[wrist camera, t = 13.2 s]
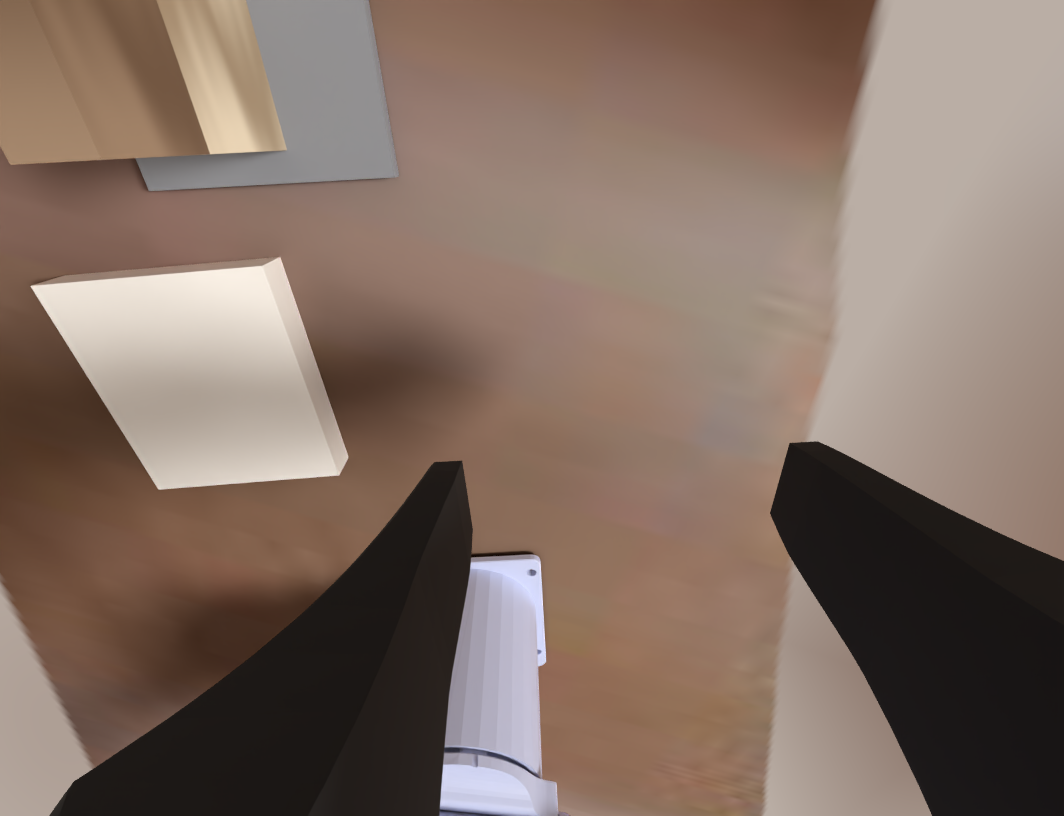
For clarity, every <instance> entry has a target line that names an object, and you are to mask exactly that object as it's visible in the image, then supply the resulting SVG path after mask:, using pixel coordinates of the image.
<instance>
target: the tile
mask: <svg viewBox="0 0 1064 816" xmlns="http://www.w3.org/2000/svg"><path fill="white" fill-rule="evenodd" d="M31 288H32V289H33V291H34V292H35V294H36V296H37V297H38V299H39V300H40V302H41V304H42V305H43V307H44V308H45V310H46V312H47V313H48V315H49V316H50V318H51V319H52V321H53V323H54V324H55V326H56V327H57V329H58V331H59V332H60V334H61V335H62V337H63V339H64V340H65V342H66V343H67V345H68V347H69V348H70V350H71V351H72V353H73V354H74V356H75V358H76V359H77V361H78V362H79V364H80V366H81V367H82V369H83V370H84V372H85V374H86V375H87V377H88V378H89V380H90V381H91V383H92V385H93V386H94V388H95V389H96V391H97V393H98V394H99V396H100V397H101V399H102V401H103V402H104V404H105V405H106V407H107V408H108V410H109V412H110V413H111V415H112V416H113V418H114V420H115V421H116V423H117V424H118V426H119V428H120V429H121V431H122V432H123V434H124V435H125V437H126V439H127V440H128V442H129V443H130V445H131V447H132V448H133V450H134V451H135V453H136V455H137V456H138V458H139V459H140V461H141V462H142V464H143V466H144V467H145V469H146V470H147V472H148V474H149V475H150V477H151V478H152V480H153V482H154V483H155V485H156V486H157V488H158V489H172V488H185V487H197V486H210V485H223V484H235V483H248V482H261V481H274V480H286V479H299V478H312V477H324V476H337V475H340V473H341V471H342V469H343V467H344V465H345V463H346V461H347V459H348V458H349V457H348V454H347V451H346V448H345V445H344V443H343V440H342V437H341V434H340V431H339V428H338V425H337V422H336V419H335V416H334V413H333V410H332V407H331V405H330V402H329V399H328V396H327V393H326V390H325V387H324V384H323V381H322V378H321V375H320V372H319V369H318V367H317V364H316V361H315V358H314V355H313V352H312V349H311V346H310V343H309V340H308V337H307V334H306V331H305V329H304V326H303V323H302V320H301V317H300V314H299V311H298V308H297V305H296V302H295V299H294V296H293V293H292V291H291V288H290V285H289V282H288V279H287V276H286V273H285V270H284V267H283V264H282V261H281V258H280V257H273V258H261V259H250V260H238V261H226V262H215V263H203V264H192V265H180V266H169V267H157V268H146V269H134V270H122V271H111V272H99V273H88V274H76V275H65V276H61V277H58V278H54V279H51V280H48V281H45V282H41V283H38V284H35V285H32V286H31Z"/></svg>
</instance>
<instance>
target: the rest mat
mask: <svg viewBox="0 0 1064 816" xmlns="http://www.w3.org/2000/svg"><path fill="white" fill-rule="evenodd" d="M246 2H247V6H248V10H249V13H250V17H251V21H252V24H253V28H254V32H255V35H256V39H257V43H258V46H259V50H260V54H261V57H262V61H263V64H264V68H265V72H266V75H267V79H268V83H269V86H270V90H271V94H272V97H273V101H274V105H275V108H276V112H277V116H278V119H279V123H280V126H281V130H282V134H283V137H284V141H285V145H286V148H287V150H282V151H264V152H246V153H228V154H208V155H189V156H170V157H151V158H135V159H136V161H137V164H138V166H139V168H140V171H141V173H142V175H143V178H144V180H145V183H146V185H147V187H148V190H149V191H161V190H178V189H196V188H214V187H232V186H249V185H267V184H285V183H303V182H320V181H338V180H356V179H374V178H391V177H397V176H399V173H398V167H397V162H396V156H395V150H394V144H393V138H392V133H391V127H390V121H389V115H388V110H387V104H386V98H385V92H384V86H383V81H382V75H381V69H380V63H379V58H378V52H377V46H376V40H375V34H374V29H373V23H372V17H371V11H370V6H369V0H246Z"/></svg>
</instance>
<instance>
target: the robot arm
mask: <svg viewBox="0 0 1064 816" xmlns="http://www.w3.org/2000/svg"><path fill="white" fill-rule="evenodd" d="M770 514H771V517H772V519H773V521H774V523H775V526H776V528H777V530H778V533H779V535H780V537H781V539H782V541H783V543H784V545H785V548H786V550H787V552H788V554H789V556H790V557H791V559H792V560H793V562H794V564H795V565H796V567H797V569H798V570H799V572H800V573H801V575H802V577H803V578H804V580H805V581H806V583H807V585H808V586H809V588H810V589H811V591H812V592H813V594H814V596H815V597H816V599H817V600H818V602H819V603H820V605H821V606H822V608H823V610H824V611H825V613H826V614H827V616H828V617H829V619H830V621H831V622H832V624H833V625H834V627H835V628H836V630H837V631H838V633H839V635H840V636H841V638H842V639H843V641H844V642H845V644H846V645H847V647H848V649H849V650H850V652H851V653H852V655H853V657H854V659H855V660H856V662H857V664H858V665H859V667H860V669H861V671H862V672H863V674H864V676H865V678H866V680H867V682H868V684H869V685H870V687H871V689H872V691H873V693H874V695H875V697H876V699H877V701H878V703H879V705H880V707H881V709H882V711H883V713H884V715H885V717H886V718H887V720H888V722H889V724H890V726H891V728H892V730H893V733H894V734H895V737H896V739H897V741H898V743H899V745H900V747H901V749H902V751H903V753H904V755H905V758H906V760H907V762H908V764H909V766H910V768H911V770H912V772H913V774H914V776H915V778H916V780H917V783H918V785H919V787H920V789H921V791H922V794H923V796H924V798H925V800H926V803H927V805H928V807H929V809H930V812H931V814H932V816H1064V561H1062V560H1060V559H1058V558H1055V557H1052V556H1050V555H1048V554H1046V553H1043V552H1041V551H1038V550H1036V549H1034V548H1031V547H1029V546H1027V545H1024V544H1022V543H1020V542H1018V541H1016V540H1013V539H1011V538H1009V537H1007V536H1005V535H1002V534H1000V533H998V532H996V531H993V530H992V529H990V528H988V527H986V526H983V525H981V524H979V523H977V522H975V521H973V520H971V519H969V518H966V517H965V516H963V515H960V514H958V513H956V512H954V511H952V510H950V509H948V508H946V507H945V506H942V505H940V504H938V503H937V502H935V501H933V500H931V499H929V498H927V497H925V496H923V495H921V494H919V493H917V492H915V491H913V490H912V489H910V488H908V487H906V486H904V485H902V484H900V483H898V482H896V481H894V480H893V479H891V478H889V477H887V476H885V475H883V474H881V473H879V472H877V471H876V470H874V469H872V468H870V467H868V466H866V465H864V464H862V463H861V462H859V461H857V460H855V459H853V458H851V457H849V456H847V455H845V454H843V453H841V452H839V451H837V450H835V449H833V448H831V447H829V446H827V445H824V444H822V443H820V442H800V443H790V444H789V447H788V451H787V454H786V458H785V462H784V465H783V469H782V472H781V476H780V480H779V483H778V487H777V490H776V494H775V498H774V501H773V505H772V508H771V512H770ZM472 532H473V528H472V522H471V515H470V509H469V502H468V496H467V489H466V483H465V476H464V470H463V463H462V461H449V462H434V463H433V464H432V465H431V467H430V468H429V469H428V471H427V472H426V473H425V475H424V476H423V478H422V479H421V480H420V482H419V483H418V485H417V486H416V487H415V489H414V490H413V491H412V493H411V494H410V495H409V497H408V498H407V499H406V501H405V502H404V503H403V505H402V506H401V507H400V508H399V510H398V511H397V512H396V513H395V515H394V516H393V517H392V518H391V520H390V521H389V522H388V523H387V525H386V526H385V527H384V529H383V530H382V531H381V532H380V533H379V534H378V536H377V537H376V538H375V539H374V540H373V541H372V542H371V544H370V545H369V546H368V547H367V548H366V549H365V550H364V552H363V553H362V554H361V555H360V556H359V557H358V558H357V559H356V561H355V562H354V563H353V564H352V565H351V566H350V567H349V568H348V569H347V570H346V571H345V572H344V573H343V574H342V575H341V577H340V578H339V579H338V580H337V581H336V582H335V583H334V584H333V585H332V586H331V587H330V588H329V589H328V590H327V591H326V592H324V593H323V594H322V595H321V596H320V597H319V598H318V599H317V600H316V601H315V602H314V603H313V604H312V605H311V606H310V607H309V608H308V609H307V610H305V611H304V612H303V613H302V614H301V615H300V616H299V617H298V618H296V619H295V620H294V621H293V622H292V623H291V624H289V625H288V626H287V627H286V628H285V629H284V630H282V631H281V632H280V633H279V634H278V635H277V636H275V637H274V638H273V639H272V640H271V641H269V642H268V643H267V644H266V645H265V646H264V647H262V648H261V649H260V650H259V651H258V652H257V653H255V654H254V655H253V656H252V657H250V658H249V659H248V660H246V661H245V662H244V663H243V664H241V665H240V666H239V667H237V668H236V669H235V670H234V671H232V672H231V673H230V674H228V675H227V676H226V677H225V678H223V679H222V680H221V681H219V682H218V683H217V684H215V685H214V686H213V687H211V688H210V689H208V690H207V691H206V692H204V693H203V694H202V695H200V696H199V697H198V698H196V699H195V700H194V701H192V702H191V703H189V704H188V705H187V706H185V707H184V708H182V709H181V710H180V711H178V712H177V713H175V714H174V715H173V716H171V717H170V718H168V719H167V720H165V721H164V722H163V723H161V724H160V725H158V726H157V727H155V728H154V729H152V730H151V731H149V732H148V733H146V734H145V735H143V736H142V737H140V738H139V739H137V740H136V741H134V742H133V743H131V744H130V745H128V746H127V747H125V748H124V749H122V750H121V751H119V752H118V753H116V754H115V755H113V756H112V757H111V758H109V759H108V760H106V761H105V762H103V763H102V764H100V765H99V766H97V767H96V768H94V769H93V770H91V771H89V772H88V773H86V774H85V775H83V776H82V777H80V778H79V779H77V780H75V781H74V782H73V784H72V785H71V786H70V788H69V789H68V790H67V792H66V793H65V794H64V796H63V797H62V799H61V800H60V801H59V803H58V804H57V806H56V807H55V808H54V810H53V811H52V813H51V814H50V816H570V815H568V814H567V813H565V812H558V801H557V784H556V782H554V781H549V780H544V779H542V763H541V736H540V708H539V680H538V666H541V665H543V664H544V663H545V662H546V650H545V633H544V615H543V598H542V580H541V563H540V558H539V557H538V556H536V555H532V554H528V555H510V556H491V557H472V558H471V551H472ZM531 569H532V570H531Z"/></svg>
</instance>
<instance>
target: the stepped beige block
mask: <svg viewBox="0 0 1064 816" xmlns="http://www.w3.org/2000/svg"><path fill="white" fill-rule="evenodd" d="M0 147H1V148H2V150H3V152H4V154H5V156H6V158H7V159H8V161H9V163H10V165H16V164H35V163H54V162H74V161H93V160H112V159H131V158H151V157H170V156H189V155H208V154H228V153H246V152H264V151H282V150H287V148H286V145H285V141H284V137H283V134H282V130H281V126H280V123H279V119H278V116H277V112H276V108H275V105H274V101H273V97H272V94H271V90H270V86H269V83H268V79H267V75H266V72H265V68H264V64H263V61H262V57H261V54H260V50H259V46H258V43H257V39H256V35H255V32H254V28H253V24H252V21H251V17H250V13H249V10H248V6H247V2H246V0H0Z"/></svg>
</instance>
